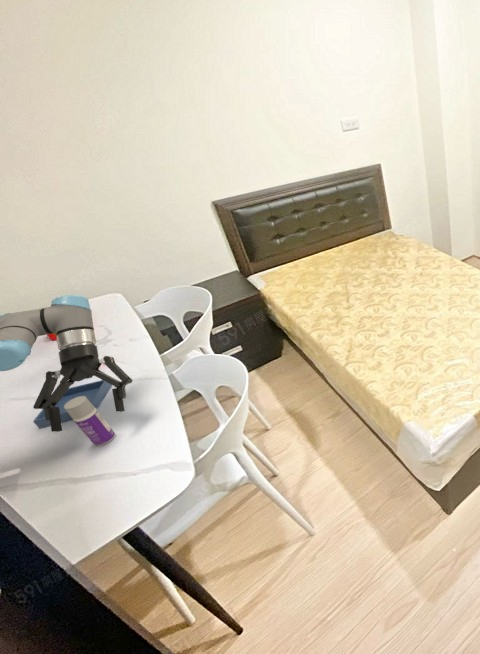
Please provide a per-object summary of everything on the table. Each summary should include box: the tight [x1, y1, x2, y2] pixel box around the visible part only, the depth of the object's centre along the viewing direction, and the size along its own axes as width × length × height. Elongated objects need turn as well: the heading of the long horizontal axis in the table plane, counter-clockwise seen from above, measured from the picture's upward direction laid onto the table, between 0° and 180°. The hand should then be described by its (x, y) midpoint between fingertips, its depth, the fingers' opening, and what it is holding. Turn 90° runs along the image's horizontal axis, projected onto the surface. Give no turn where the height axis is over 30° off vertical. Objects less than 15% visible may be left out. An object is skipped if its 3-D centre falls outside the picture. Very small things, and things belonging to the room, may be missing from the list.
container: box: [64, 396, 116, 447], centre depth 109 cm, size 5×5×15 cm
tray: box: [32, 379, 113, 429], centre depth 124 cm, size 13×13×3 cm
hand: (89, 421), depth 109 cm, fingers open, 13 cm apart
